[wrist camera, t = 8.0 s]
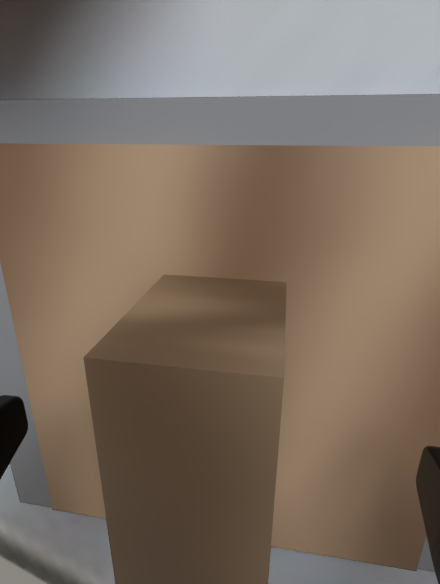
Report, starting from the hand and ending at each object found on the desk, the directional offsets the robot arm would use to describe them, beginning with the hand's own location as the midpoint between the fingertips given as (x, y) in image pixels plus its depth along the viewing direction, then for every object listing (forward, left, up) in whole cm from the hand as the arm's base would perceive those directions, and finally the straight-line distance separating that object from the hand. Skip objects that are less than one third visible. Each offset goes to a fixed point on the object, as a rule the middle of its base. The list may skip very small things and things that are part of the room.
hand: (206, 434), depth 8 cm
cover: (0, 0, -3) cm, 3 cm away
